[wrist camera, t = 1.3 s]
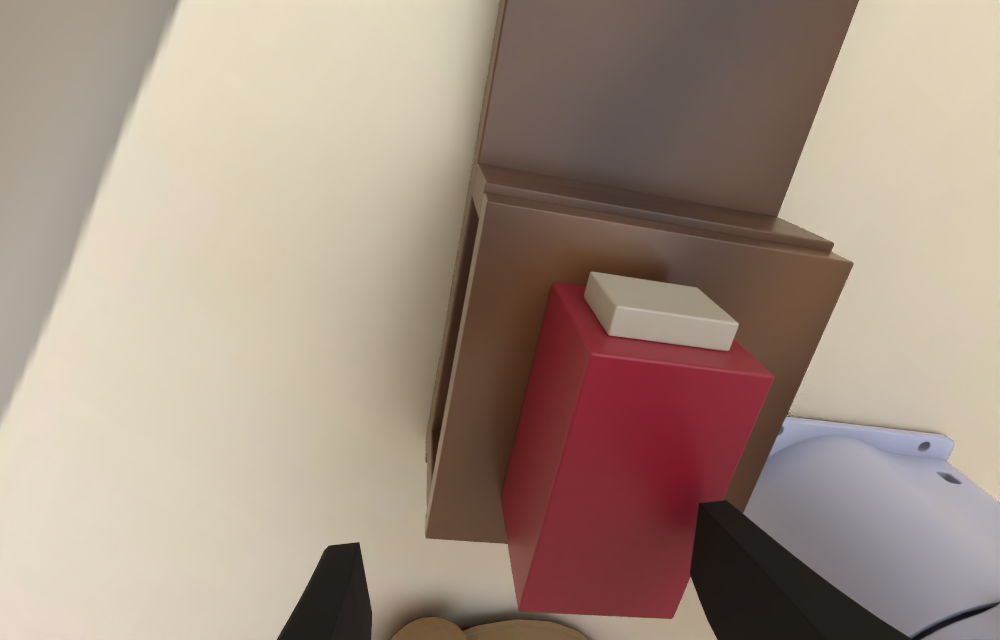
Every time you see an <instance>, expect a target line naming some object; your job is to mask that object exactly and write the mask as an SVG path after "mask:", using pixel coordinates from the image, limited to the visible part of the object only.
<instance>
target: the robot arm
mask: <svg viewBox="0 0 1000 640" xmlns="http://www.w3.org/2000/svg"><path fill="white" fill-rule="evenodd" d="M953 448H954V442H953V441H952V440H951V439H950V438H949V437H947V436H946V435H942V434H934V433H925V432H916V431H908V430H899V429H890V428H882V427H873V426H864V425H856V424H847V423H839V422H830V421H821V420H813V419H804V418H795V417H787V416H786V418H785V420H784V422H783V425H782V427H781V429H780V432H779V434H778V436H777V438H776V441H775V443H774V445H773V447H772V450H771V452H770V454H769V456H768V459H767V461H766V463H765V465H764V468H763V470H762V472H761V474H760V477H759V479H758V481H757V483H756V486H755V488H754V490H753V492H752V495H751V497H750V499H749V502H748V504H747V506H746V508H745V511H744V513H742V512H740V511H739V510H738V509H737V508H736V507H734V506H733V505H732V504H731V503H729V502H728V501H727V500H722V501H713V502H705V503H699V507H698V514H697V522H696V529H695V537H694V544H693V552H692V559H691V567H690V575H691V578H692V581H693V583H694V586H695V589H696V591H697V594H698V597H699V600H700V602H701V605H702V607H703V610H704V612H705V615H706V617H707V620H708V622H709V624H710V626H711V628H712V630H713V632H714V634H715V636H716V637H717V639H718V640H1000V503H999V502H998V501H997V500H996V499H994V498H993V497H992V496H991V495H989V494H988V493H987V492H985V491H984V490H983V489H982V488H980V487H979V486H978V485H976V484H975V483H974V482H973V481H971V480H970V479H969V478H967V477H966V476H965V475H964V474H962V473H961V472H960V471H959V470H957V469H956V468H955V467H953V466H952V465H951V464H950V463H948V462H947V461H946V460H947V459H948V457H949V455H950V454H951V452H952V450H953ZM371 628H372V610H371V605H370V599H369V593H368V588H367V582H366V577H365V571H364V566H363V560H362V555H361V549H360V544H359V542H357V543H348V544H340V545H331V546H328V547H327V548H326V549H325V550H324V552H323V554H322V556H321V559H320V561H319V563H318V565H317V567H316V569H315V571H314V573H313V575H312V577H311V579H310V581H309V583H308V585H307V587H306V589H305V591H304V592H303V594H302V596H301V598H300V600H299V602H298V604H297V605H296V607H295V609H294V611H293V612H292V614H291V616H290V618H289V619H288V621H287V623H286V625H285V626H284V628H283V630H282V631H281V633H280V635H279V637H278V638H277V640H371Z"/></svg>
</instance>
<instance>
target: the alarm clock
mask: <svg viewBox="0 0 1000 640" xmlns="http://www.w3.org/2000/svg"><path fill="white" fill-rule="evenodd" d="M391 640H589V639H588V638H586V637H585V636H584V635H583V634H582V633H580V632H579V631H577V630H574V629H571V628H568V627H565V626H562V625H559V624H557V623H554V622H551V621H536V620H519V619H514V620H508V621H502V622H496V623H490V624H483V625H477V626H474V627H472V628H469V629H467V630H464V631H462V630H461V629H460V628H459V627H458V625H456V624H454V623H453V622H450V621H448V620H445V619H443V618H440V617H425V618H419V619H417V620H415V621H413V622H411V623H409V624H407V625H405V626H404V627H403V628H402V629H400V630H399V631H398V632H397V633H396V634H395V635H394V636H393V637H392V638H391Z"/></svg>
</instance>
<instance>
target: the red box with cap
mask: <svg viewBox="0 0 1000 640" xmlns="http://www.w3.org/2000/svg"><path fill="white" fill-rule="evenodd" d="M738 326H739V324H738V322H736V321H735V320H734V319H733V318H732V317H731V316H730V315H728V314H727V313H726V312H725V311H724V310H723V309H721V308H720V307H719V306H718V305H717V304H716V303H714V302H713V301H712V300H711V299H710V298H709V297H707V296H706V295H705V294H704V293H703V292H702V291H701V290H699V289H698V288H697V287H690V286H684V285H677V284H670V283H664V282H657V281H651V280H644V279H638V278H631V277H625V276H618V275H612V274H605V273H599V272H590V275H589V278H588V282H587V286H586V287H582V286H575V285H568V284H561V283H553V284H552V286H551V290H550V294H549V299H548V303H547V307H546V311H545V315H544V319H543V324H542V328H541V332H540V336H539V340H538V345H537V349H536V353H535V357H534V361H533V365H532V370H531V374H530V378H529V382H528V386H527V390H526V395H525V399H524V403H523V407H522V411H521V416H520V420H519V424H518V428H517V432H516V436H515V441H514V445H513V449H512V453H511V457H510V461H509V466H508V470H507V474H506V478H505V482H504V487H503V491H502V495H501V504H502V510H503V517H504V523H505V529H506V536H507V542H508V548H509V555H510V561H511V567H512V574H513V580H514V586H515V593H516V599H517V605H518V610H519V611H520V612H536V613H557V614H578V615H599V616H620V617H642V618H663V619H672V618H673V617H674V615H675V612H676V610H677V608H678V605H679V603H680V600H681V598H682V596H683V593H684V591H685V589H686V586H687V584H688V581H689V579H690V577H691V575H690V567H691V559H692V552H693V544H694V537H695V529H696V522H697V514H698V507H699V503H705V502H713V501H722V500H723V498H724V496H725V494H726V491H727V489H728V486H729V484H730V482H731V479H732V477H733V475H734V472H735V470H736V467H737V465H738V463H739V460H740V458H741V456H742V453H743V451H744V448H745V446H746V444H747V441H748V439H749V437H750V434H751V432H752V429H753V427H754V425H755V422H756V420H757V418H758V415H759V413H760V410H761V408H762V406H763V403H764V401H765V399H766V396H767V394H768V391H769V389H770V387H771V384H772V382H773V380H774V376H773V375H772V374H771V373H770V372H769V371H768V370H767V369H766V368H765V367H764V366H763V365H762V364H761V363H759V362H758V361H757V360H756V359H755V358H754V357H753V356H752V355H751V354H750V353H749V352H748V351H746V350H745V349H744V348H743V347H742V346H741V345H740V344H739V343H738V342H737V341H736V340H735V339H734V336H735V334H736V331H737V329H738Z"/></svg>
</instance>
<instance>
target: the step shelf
mask: <svg viewBox="0 0 1000 640" xmlns="http://www.w3.org/2000/svg"><path fill="white" fill-rule="evenodd" d="M858 2H859V0H500V6H499V12H498V17H497V23H496V29H495V35H494V41H493V47H492V53H491V59H490V64H489V70H488V76H487V82H486V88H485V94H484V100H483V106H482V111H481V117H480V123H479V129H478V135H477V141H476V147H475V153H474V158H473V164H472V170H471V176H470V182H469V188H468V194H467V200H466V205H465V211H464V217H463V223H462V229H461V235H460V241H459V247H458V253H457V258H456V264H455V270H454V276H453V282H452V288H451V294H450V300H449V305H448V311H447V317H446V323H445V329H444V335H443V341H442V347H441V352H440V358H439V364H438V370H437V376H436V382H435V388H434V394H433V399H432V405H431V411H430V417H429V423H428V429H427V435H426V457H425V460H426V462H427V510H426V520H425V537H426V538H430V539H444V540H459V541H474V542H489V543H504V544H508V542H507V536H506V529H505V523H504V517H503V510H502V504H501V495H502V491H503V487H504V482H505V478H506V474H507V470H508V466H509V461H510V457H511V453H512V449H513V445H514V441H515V436H516V432H517V428H518V424H519V420H520V416H521V411H522V407H523V403H524V399H525V395H526V390H527V386H528V382H529V378H530V374H531V370H532V365H533V361H534V357H535V353H536V349H537V345H538V340H539V336H540V332H541V328H542V324H543V319H544V315H545V311H546V307H547V303H548V299H549V294H550V290H551V286H552V284H553V283H561V284H568V285H575V286H582V287H586V286H587V282H588V278H589V275H590V272H599V273H605V274H612V275H618V276H625V277H631V278H638V279H644V280H651V281H657V282H664V283H670V284H677V285H684V286H690V287H697V288H698V289H699V290H701V291H702V292H703V293H704V294H705V295H706V296H707V297H709V298H710V299H711V300H712V301H713V302H714V303H716V304H717V305H718V306H719V307H720V308H721V309H723V310H724V311H725V312H726V313H727V314H728V315H730V316H731V317H732V318H733V319H734V320H735V321H736V322H738V324H739V326H738V329H737V331H736V334H735V336H734V339H735V340H736V341H737V342H738V343H739V344H740V345H741V346H742V347H743V348H744V349H745V350H746V351H748V352H749V353H750V354H751V355H752V356H753V357H754V358H755V359H756V360H757V361H758V362H759V363H761V364H762V365H763V366H764V367H765V368H766V369H767V370H768V371H769V372H770V373H771V374H772V375H773V376H774V380H773V382H772V384H771V387H770V389H769V391H768V394H767V396H766V399H765V401H764V403H763V406H762V408H761V410H760V413H759V415H758V418H757V420H756V422H755V425H754V427H753V429H752V432H751V434H750V437H749V439H748V441H747V444H746V446H745V448H744V451H743V453H742V456H741V458H740V460H739V463H738V465H737V467H736V470H735V472H734V475H733V477H732V479H731V482H730V484H729V486H728V489H727V491H726V494H725V496H724V498H723V500H727V501H728V502H729V503H731V504H732V505H733V506H734V507H736V508H737V509H738V510H739V511H740V512H742V513H744V511H745V508H746V506H747V504H748V502H749V499H750V497H751V495H752V492H753V490H754V488H755V486H756V483H757V481H758V479H759V477H760V474H761V472H762V470H763V468H764V465H765V463H766V461H767V459H768V456H769V454H770V452H771V450H772V447H773V445H774V443H775V441H776V438H777V436H778V434H779V432H780V429H781V427H782V425H783V422H784V420H785V418H786V416H787V413H788V411H789V409H790V407H791V404H792V402H793V400H794V398H795V395H796V393H797V391H798V389H799V386H800V384H801V382H802V380H803V377H804V375H805V373H806V371H807V368H808V366H809V364H810V361H811V359H812V357H813V355H814V352H815V350H816V348H817V346H818V343H819V341H820V339H821V337H822V334H823V332H824V330H825V328H826V325H827V323H828V321H829V319H830V316H831V314H832V312H833V310H834V307H835V305H836V303H837V301H838V298H839V296H840V294H841V291H842V289H843V287H844V285H845V282H846V280H847V278H848V276H849V273H850V271H851V269H852V267H853V264H854V263H853V262H851V261H849V260H847V259H845V258H843V257H841V256H839V255H837V254H835V253H833V252H831V251H832V248H833V246H834V243H833V242H831V241H829V240H826V239H824V238H822V237H820V236H818V235H815V234H813V233H811V232H809V231H807V230H805V229H802V228H800V227H798V226H796V225H794V224H791V223H789V222H787V221H785V220H783V219H780V218H778V217H777V216H778V213H779V210H780V208H781V205H782V203H783V200H784V197H785V195H786V192H787V189H788V187H789V184H790V181H791V179H792V176H793V173H794V171H795V168H796V166H797V163H798V160H799V158H800V155H801V152H802V150H803V147H804V144H805V142H806V139H807V136H808V134H809V131H810V128H811V126H812V123H813V121H814V118H815V115H816V113H817V110H818V107H819V105H820V102H821V99H822V97H823V94H824V91H825V89H826V86H827V84H828V81H829V78H830V76H831V73H832V70H833V68H834V65H835V62H836V60H837V57H838V54H839V52H840V49H841V46H842V44H843V41H844V39H845V36H846V33H847V31H848V28H849V25H850V23H851V20H852V17H853V15H854V12H855V9H856V7H857V4H858Z"/></svg>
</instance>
